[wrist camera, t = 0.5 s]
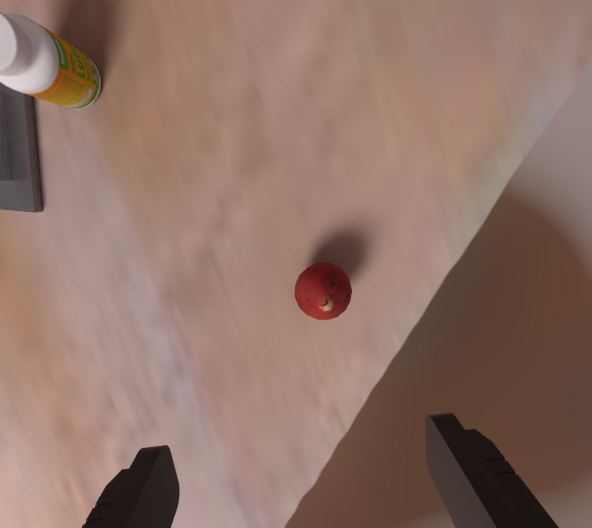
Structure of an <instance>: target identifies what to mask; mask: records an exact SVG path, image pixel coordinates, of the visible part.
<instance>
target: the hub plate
mask: <svg viewBox="0 0 592 528" xmlns="http://www.w3.org/2000/svg"><path fill="white" fill-rule="evenodd" d="M0 209H3V210H14V211H24V212H42V211H43V208H42V196H41V184H40V172H39V160H38V149H37V137H36V125H35V113H34V101H33V96H30V95H27V94H24V93H21V92H18V91H16V90H14V89H11V88H9V87H7V86H6V85H4V84H2V83H1V82H0Z"/></svg>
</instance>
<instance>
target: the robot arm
mask: <svg viewBox="0 0 592 528" xmlns="http://www.w3.org/2000/svg"><path fill="white" fill-rule="evenodd" d="M425 430H426V459H427V464H428V468H429V472H430V475H431V477H432V479H433V482H434V484H435V486H436V488H437V490H438V492H439V494H440V496H441V498H442V500H443V503H444V505H445V507H446V509H447V511H448V513H449V515H450V517H451V519H452V521H453V523H454V525H455V527H456V528H559V527H558V526H557V525H556V524H555V522H554V521H553V520H552V518H551V517H550V516H549V515H548V513H547V512H546V511H545V509H544V508H543V507H542V505H541V504H540V503H539V502H538V501H537V499H536V498H535V496H534V495H533V494H532V493H531V491H530V490H529V489H528V487H527V486H526V485H525V483H524V482H523V481H522V480H521V478H520V477H519V476H518V475H516V474H515V471H514V469H513V468H512V467H511V465H510V464H509V463H508V462H507V461H505V458H504V456H503V455H502V454H501V452H500V451H499V450H498V449H497V447H496V446H495V445H494V443H493V442H492V441H490V440H489V439H488V438H486V437H485V436H484V435H482V434H481V433H480V432H478V431H477V430H475V429H470V430H465V429H464V428H463V426H462V425H461V424H460V422H459V421H458V419H457V418H456V417H455V415H454V414H453V413H443V414H433V415H427V416H426V419H425ZM178 502H179V482H178V478H177V474H176V470H175V467H174V463H173V459H172V455H171V451H170V448H169V447H168V446H167V445H164V446H155V447H147V448H142V449H140V450H139V452H138V453H137V455H136V457H135V459H134V461H133V463H132V464H131V466H130V468H129V469H122V470H121V471H120V472H119V473H118V474H117V475H116V476H115V477H114V478H113V479H112V480H111V481H110V482H109V483H108V485H107V486H106V487H105V489H104V490H103V492H102V494H101V496H100V497H99V499H98V501H97V502H96V504H95V508H93V509H92V511H91V513H90V514H89V516H88V518H87V519H86V524H84V525H83V526H82V528H171V525H172V522H173V519H174V516H175V513H176V510H177V507H178Z"/></svg>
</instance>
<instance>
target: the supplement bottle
mask: <svg viewBox="0 0 592 528" xmlns="http://www.w3.org/2000/svg"><path fill="white" fill-rule="evenodd" d="M0 82H1V83H2V84H4V85H6V86H7V87H9V88H11V89H14V90H16V91H18V92H21V93H24V94H27V95H30V96H33V97H36V98H39V99H42V100H45V101H48V102H51V103H54V104H57V105H60V106H63V107H66V108H69V109H84V108H87V107H89V106H90V105H92V104H93V103H94V102H95V101H96V99H97V98H98V96H99V93H100V90H101V78H100V74H99V71H98V69H97V67H96V65H95V64H94V62H93V61H92V60H91V59H90V58H89V57H88V56H87V55H86V54H84V53H83V52H82V51H80V50H79V49H77V48H76V47H74V46H72V45H71V44H69V43H68V42H66V41H65V40H63V39H61V38H60V37H58V36H57V35H55V34H54V33H52V32H50V31H49V30H47V29H46V28H44V27H43V26H41V25H39V24H38V23H36V22H34V21H33V20H31V19H29V18H27V17H25V16H22V15H19V14H13V13H6V14H2V13H1V12H0Z"/></svg>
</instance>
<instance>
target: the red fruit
mask: <svg viewBox="0 0 592 528" xmlns="http://www.w3.org/2000/svg"><path fill="white" fill-rule="evenodd" d="M351 294H352V288H351V285H350V281H349V278H348V276H347V275H346V274H345V273H344V271H343V270H342V269H341V268H339V267H337V266H335V265H333V264H331V263H316V264H314V265H312V266H310V267H308V268H307V269H306V270H304V271H303V272H302V273H301V274H300V275H299V278H298V280H297V282H296V285H295V298H296V301H297V303H298V306H299V308H300V309H301V310H302V311H303V312H304V313H305V314H307V315H308V316H311V317H313V318H315V319H318V320H329V319H332V318H335V317H338V316H339V315H340V314H341V313H343V312H344V311H345V310H346V308H347V306H348V304H349V303H350V300H351Z"/></svg>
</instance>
